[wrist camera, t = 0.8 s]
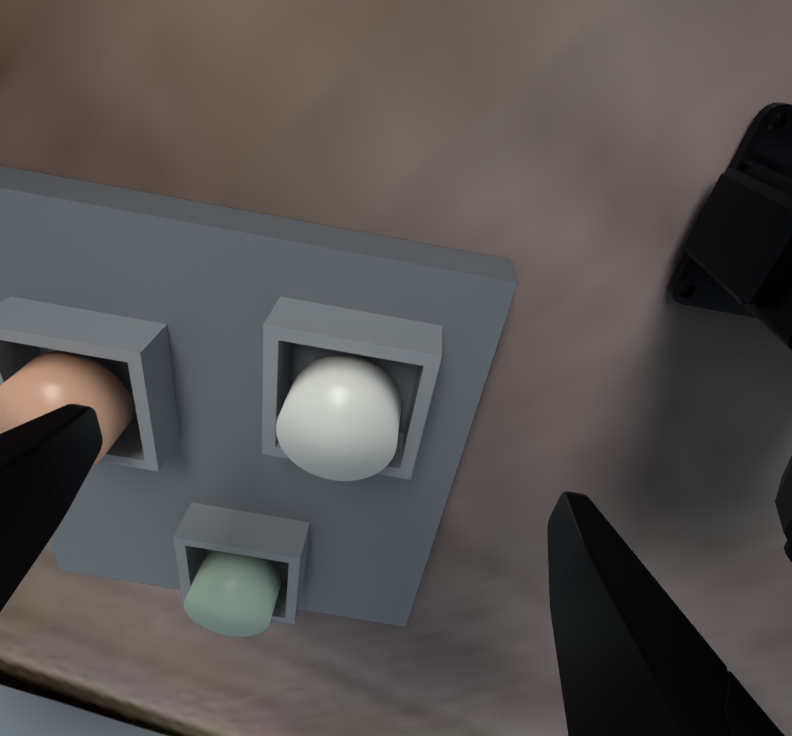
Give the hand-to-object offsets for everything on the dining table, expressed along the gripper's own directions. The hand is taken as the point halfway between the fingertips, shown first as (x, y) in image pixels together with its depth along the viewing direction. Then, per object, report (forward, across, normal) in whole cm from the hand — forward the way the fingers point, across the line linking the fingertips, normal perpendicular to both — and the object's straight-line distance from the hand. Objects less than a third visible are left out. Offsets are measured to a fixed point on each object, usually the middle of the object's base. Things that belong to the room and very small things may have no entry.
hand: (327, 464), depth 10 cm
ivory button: (+7, +1, +4) cm, 9 cm away
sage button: (+7, +5, +16) cm, 19 cm away
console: (+11, +6, +10) cm, 16 cm away
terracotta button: (+7, +11, +6) cm, 14 cm away
